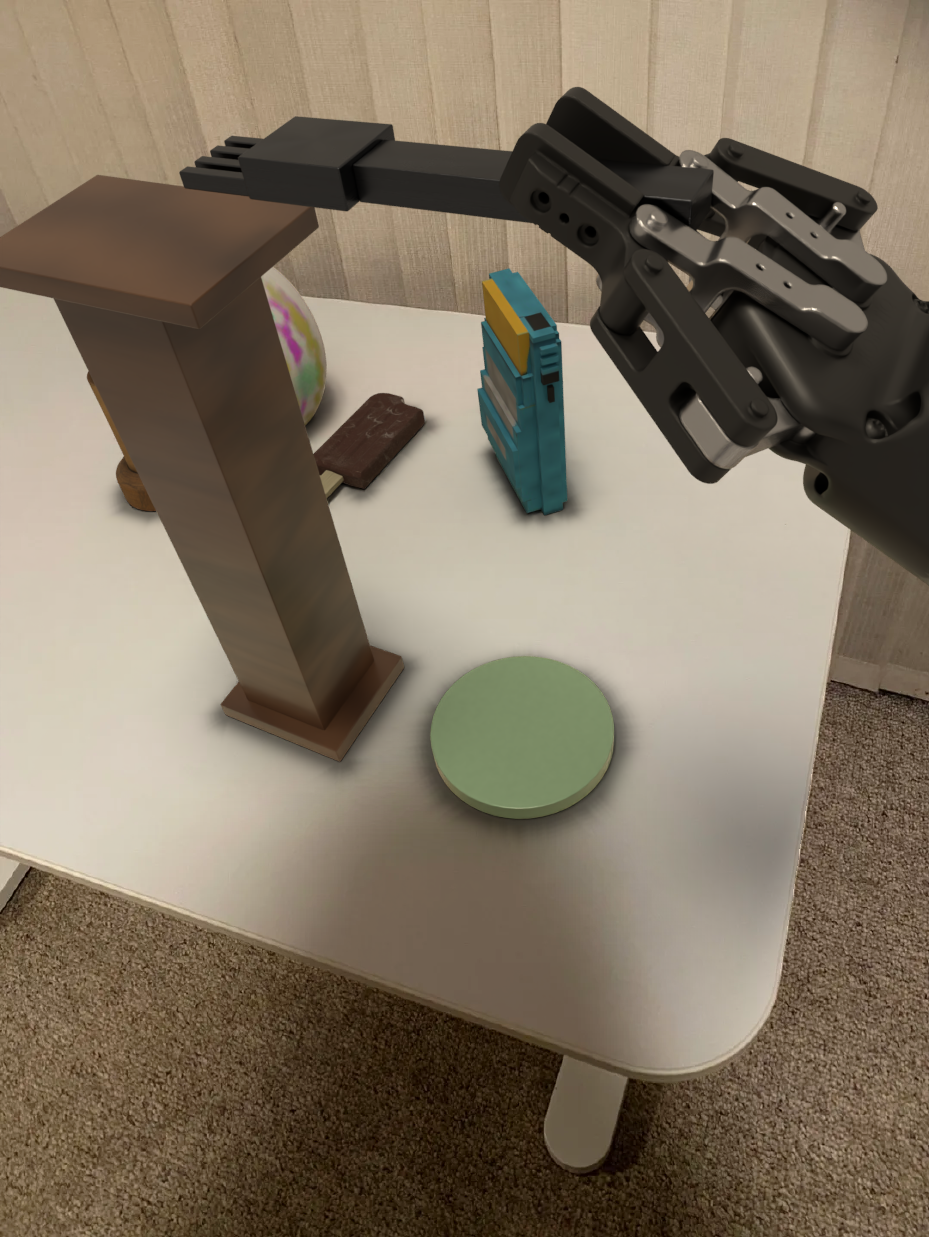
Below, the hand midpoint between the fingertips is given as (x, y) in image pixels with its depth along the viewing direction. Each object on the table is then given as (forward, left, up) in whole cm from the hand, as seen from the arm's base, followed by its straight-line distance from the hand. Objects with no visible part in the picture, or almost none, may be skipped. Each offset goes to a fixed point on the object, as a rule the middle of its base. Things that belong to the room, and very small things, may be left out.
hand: (535, 138), depth 27 cm
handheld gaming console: (+24, +14, -36) cm, 46 cm away
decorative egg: (+24, +39, -36) cm, 58 cm away
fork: (0, +4, -2) cm, 4 cm away
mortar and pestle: (+13, +42, -36) cm, 57 cm away
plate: (+2, +4, -36) cm, 36 cm away
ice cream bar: (+21, +28, -36) cm, 50 cm away
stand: (0, +18, -36) cm, 40 cm away
